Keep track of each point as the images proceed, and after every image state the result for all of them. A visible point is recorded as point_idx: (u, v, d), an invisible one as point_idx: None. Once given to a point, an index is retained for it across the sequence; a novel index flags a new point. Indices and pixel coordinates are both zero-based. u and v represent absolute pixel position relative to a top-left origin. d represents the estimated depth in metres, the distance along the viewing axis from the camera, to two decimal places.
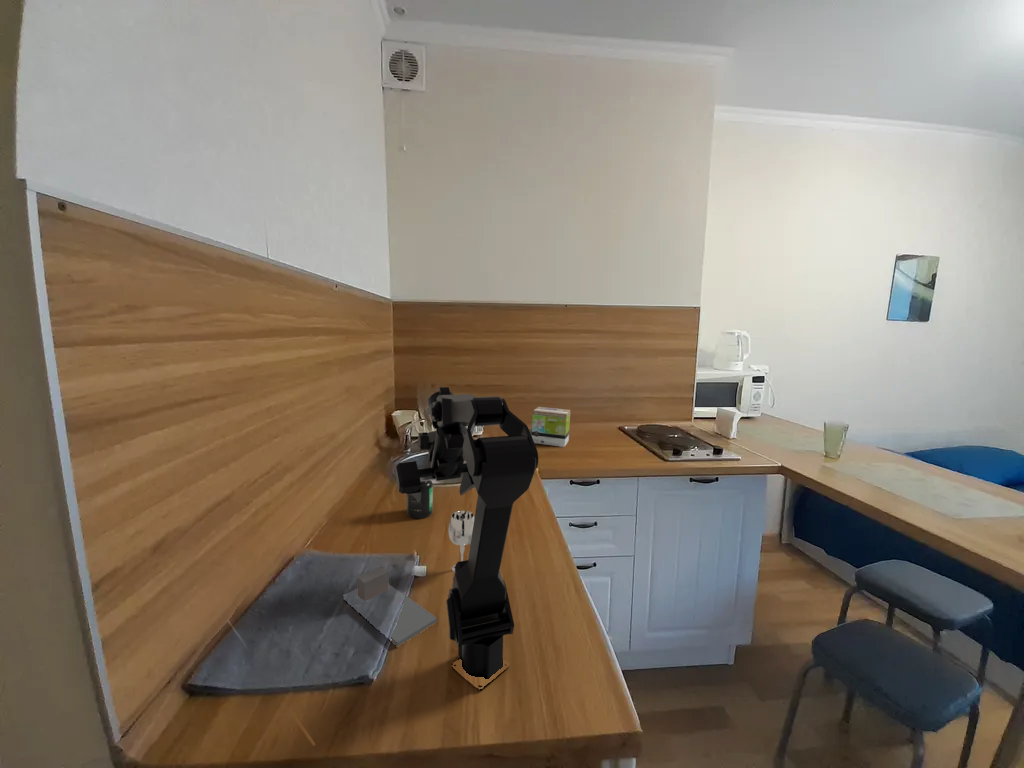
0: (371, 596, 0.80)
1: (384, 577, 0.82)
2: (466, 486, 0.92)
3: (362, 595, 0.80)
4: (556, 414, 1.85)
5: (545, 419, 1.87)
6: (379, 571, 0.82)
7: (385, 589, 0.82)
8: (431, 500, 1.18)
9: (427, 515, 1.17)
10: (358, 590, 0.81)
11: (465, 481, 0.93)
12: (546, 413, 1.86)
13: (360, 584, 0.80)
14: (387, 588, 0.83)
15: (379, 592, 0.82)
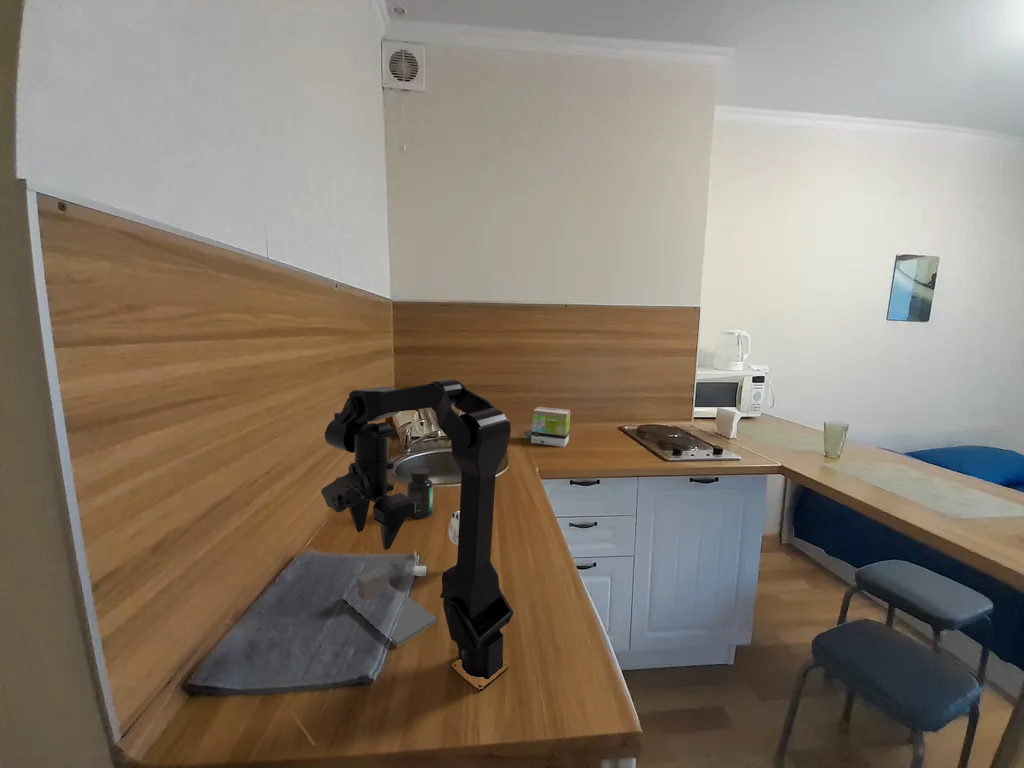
0: (371, 596, 0.80)
1: (384, 577, 0.82)
2: (366, 506, 0.84)
3: (362, 595, 0.80)
4: (556, 414, 1.85)
5: (545, 419, 1.87)
6: (379, 571, 0.82)
7: (385, 589, 0.82)
8: (431, 500, 1.18)
9: (427, 515, 1.17)
10: (358, 590, 0.81)
11: (361, 507, 0.83)
12: (546, 413, 1.86)
13: (360, 584, 0.80)
14: (387, 588, 0.83)
15: (379, 592, 0.82)
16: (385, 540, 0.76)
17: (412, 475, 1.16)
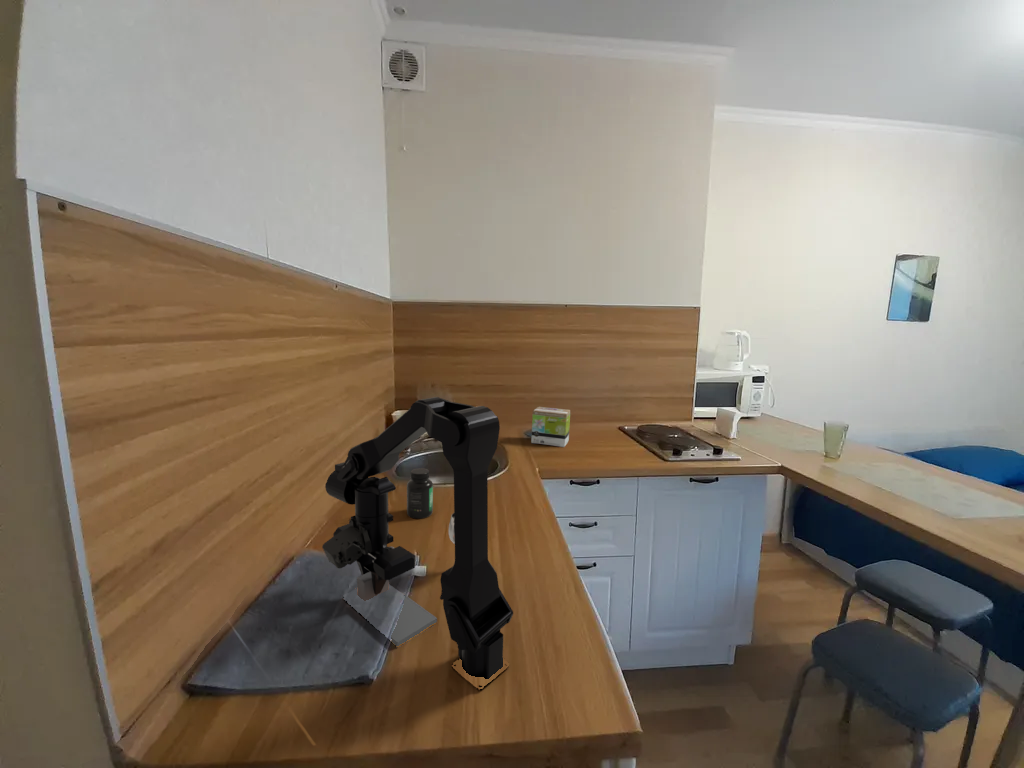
0: (371, 596, 0.80)
1: None
2: None
3: (362, 595, 0.80)
4: (556, 414, 1.85)
5: (545, 419, 1.87)
6: None
7: (385, 589, 0.82)
8: (431, 500, 1.18)
9: (427, 515, 1.17)
10: (358, 590, 0.81)
11: (370, 562, 0.83)
12: (546, 413, 1.86)
13: (360, 584, 0.80)
14: (387, 588, 0.83)
15: None
16: (376, 586, 0.80)
17: (412, 475, 1.16)
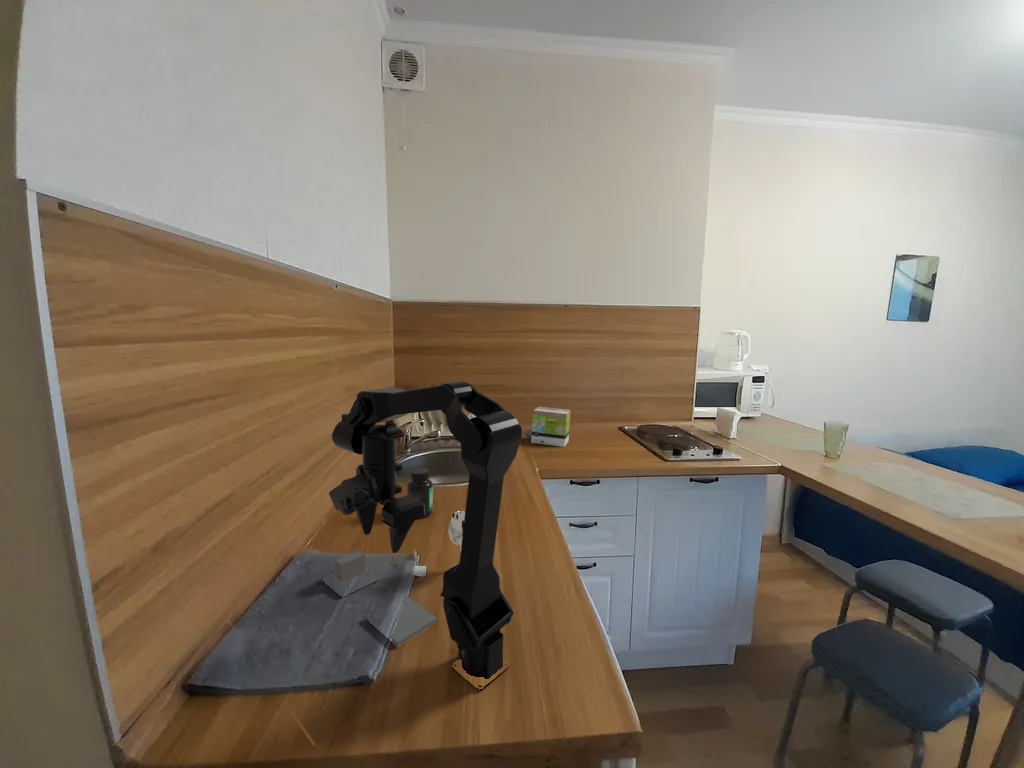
0: (348, 577, 0.86)
1: (360, 560, 0.88)
2: (373, 509, 0.83)
3: (339, 576, 0.85)
4: (556, 414, 1.85)
5: (545, 419, 1.87)
6: (356, 554, 0.88)
7: (361, 571, 0.88)
8: (431, 500, 1.18)
9: (427, 515, 1.17)
10: (336, 572, 0.86)
11: (368, 509, 0.82)
12: (546, 413, 1.86)
13: (337, 566, 0.85)
14: (363, 570, 0.88)
15: (356, 574, 0.87)
16: (394, 543, 0.75)
17: (412, 475, 1.16)
